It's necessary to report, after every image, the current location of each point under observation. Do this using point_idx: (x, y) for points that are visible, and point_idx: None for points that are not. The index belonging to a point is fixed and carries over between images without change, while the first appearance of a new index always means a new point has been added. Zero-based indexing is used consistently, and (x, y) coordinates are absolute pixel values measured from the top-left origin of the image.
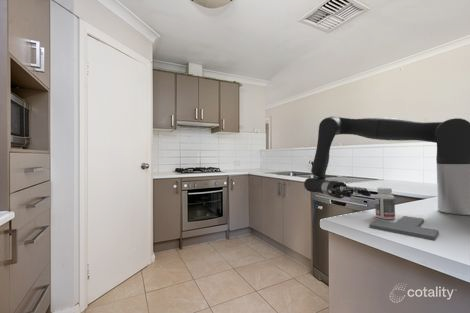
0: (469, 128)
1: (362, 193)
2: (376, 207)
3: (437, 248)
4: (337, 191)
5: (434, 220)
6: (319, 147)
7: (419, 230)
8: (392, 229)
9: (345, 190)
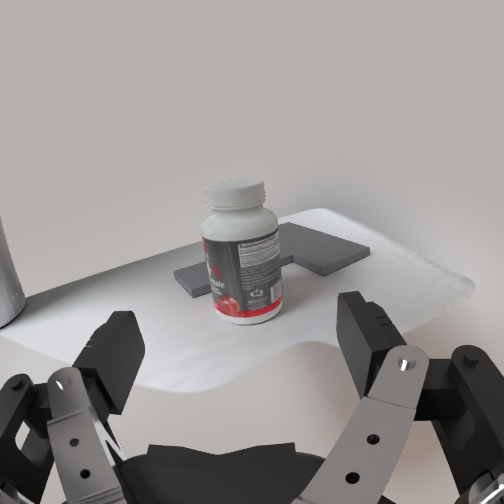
0: None
1: (114, 398)
2: (280, 269)
3: (314, 217)
4: (455, 359)
5: (137, 282)
6: None
7: (285, 232)
8: (332, 237)
9: (298, 453)
